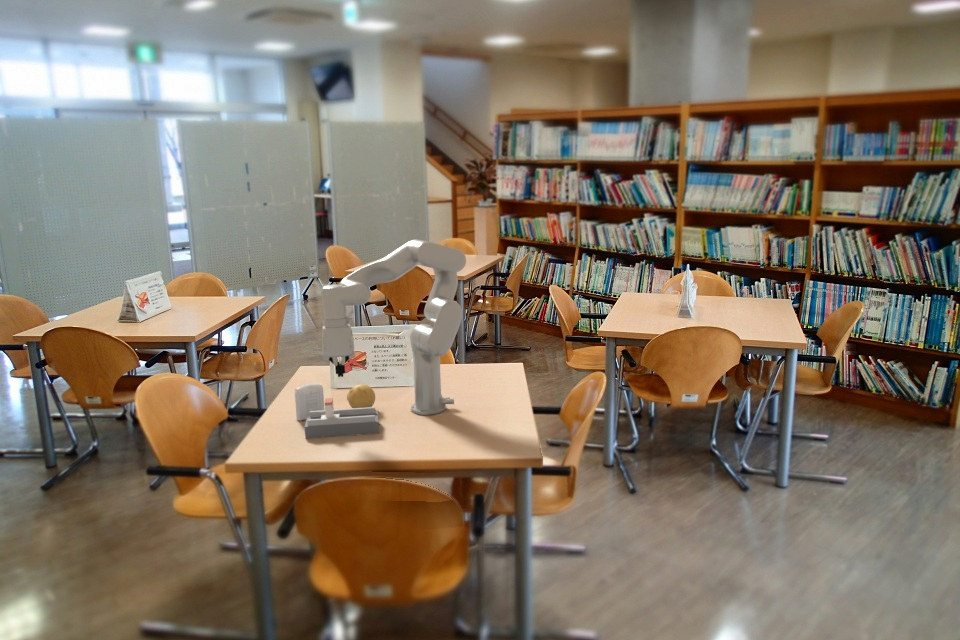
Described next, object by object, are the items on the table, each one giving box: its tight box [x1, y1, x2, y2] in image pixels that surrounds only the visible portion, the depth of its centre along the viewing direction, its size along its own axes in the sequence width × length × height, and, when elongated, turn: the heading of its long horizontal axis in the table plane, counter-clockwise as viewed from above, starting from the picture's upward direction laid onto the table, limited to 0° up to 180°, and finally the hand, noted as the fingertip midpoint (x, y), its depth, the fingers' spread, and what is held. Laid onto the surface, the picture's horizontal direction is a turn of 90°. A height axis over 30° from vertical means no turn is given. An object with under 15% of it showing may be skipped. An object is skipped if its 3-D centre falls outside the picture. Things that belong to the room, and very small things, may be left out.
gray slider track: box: [304, 406, 380, 439], centre depth 245 cm, size 24×10×6 cm, turn 98°
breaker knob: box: [321, 397, 340, 419], centre depth 243 cm, size 6×6×7 cm
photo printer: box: [294, 382, 325, 421], centre depth 257 cm, size 10×4×12 cm, turn 123°
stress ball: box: [346, 383, 376, 408], centre depth 262 cm, size 10×10×10 cm
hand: (340, 375), depth 241 cm, fingers closed
